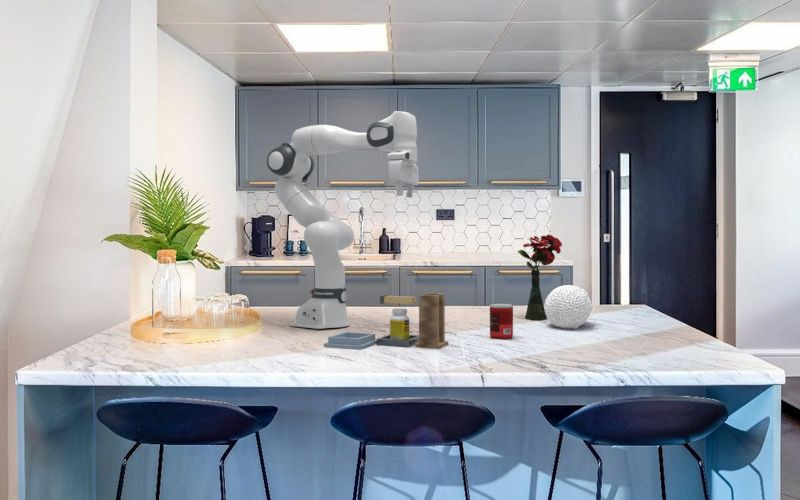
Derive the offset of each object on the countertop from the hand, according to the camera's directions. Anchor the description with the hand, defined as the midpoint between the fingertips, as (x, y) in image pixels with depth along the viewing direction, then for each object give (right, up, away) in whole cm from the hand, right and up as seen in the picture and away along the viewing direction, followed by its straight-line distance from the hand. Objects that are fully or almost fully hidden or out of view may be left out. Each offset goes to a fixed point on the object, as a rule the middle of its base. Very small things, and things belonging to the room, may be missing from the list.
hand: (404, 196), depth 214 cm
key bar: (-2, -36, -20) cm, 41 cm away
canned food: (+33, -49, -8) cm, 59 cm away
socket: (-2, -49, -20) cm, 53 cm away
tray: (-17, -49, -22) cm, 56 cm away
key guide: (+8, -49, -24) cm, 55 cm away
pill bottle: (-2, -49, -20) cm, 53 cm away
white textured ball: (+60, -48, +11) cm, 78 cm away
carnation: (+54, -48, +28) cm, 77 cm away
